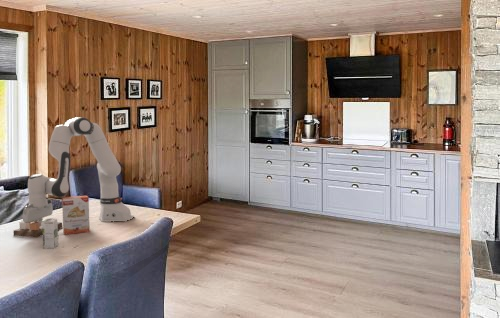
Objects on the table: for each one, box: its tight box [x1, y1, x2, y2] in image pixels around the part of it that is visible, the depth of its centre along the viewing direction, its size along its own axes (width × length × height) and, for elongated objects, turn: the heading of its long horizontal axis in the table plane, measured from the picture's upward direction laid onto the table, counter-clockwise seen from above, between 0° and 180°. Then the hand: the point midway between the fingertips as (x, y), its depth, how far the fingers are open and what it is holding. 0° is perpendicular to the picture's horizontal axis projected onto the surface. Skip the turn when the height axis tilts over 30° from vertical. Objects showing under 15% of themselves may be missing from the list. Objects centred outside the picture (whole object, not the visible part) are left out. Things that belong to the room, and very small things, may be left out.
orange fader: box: [29, 222, 40, 230], centre depth 248 cm, size 4×3×4 cm
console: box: [13, 220, 63, 239], centre depth 256 cm, size 15×22×3 cm
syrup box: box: [42, 217, 59, 250], centre depth 227 cm, size 6×6×14 cm
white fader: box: [18, 220, 30, 229], centre depth 249 cm, size 4×3×4 cm
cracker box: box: [61, 195, 91, 235], centre depth 253 cm, size 14×6×21 cm, turn 117°
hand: (38, 226), depth 251 cm, fingers closed
